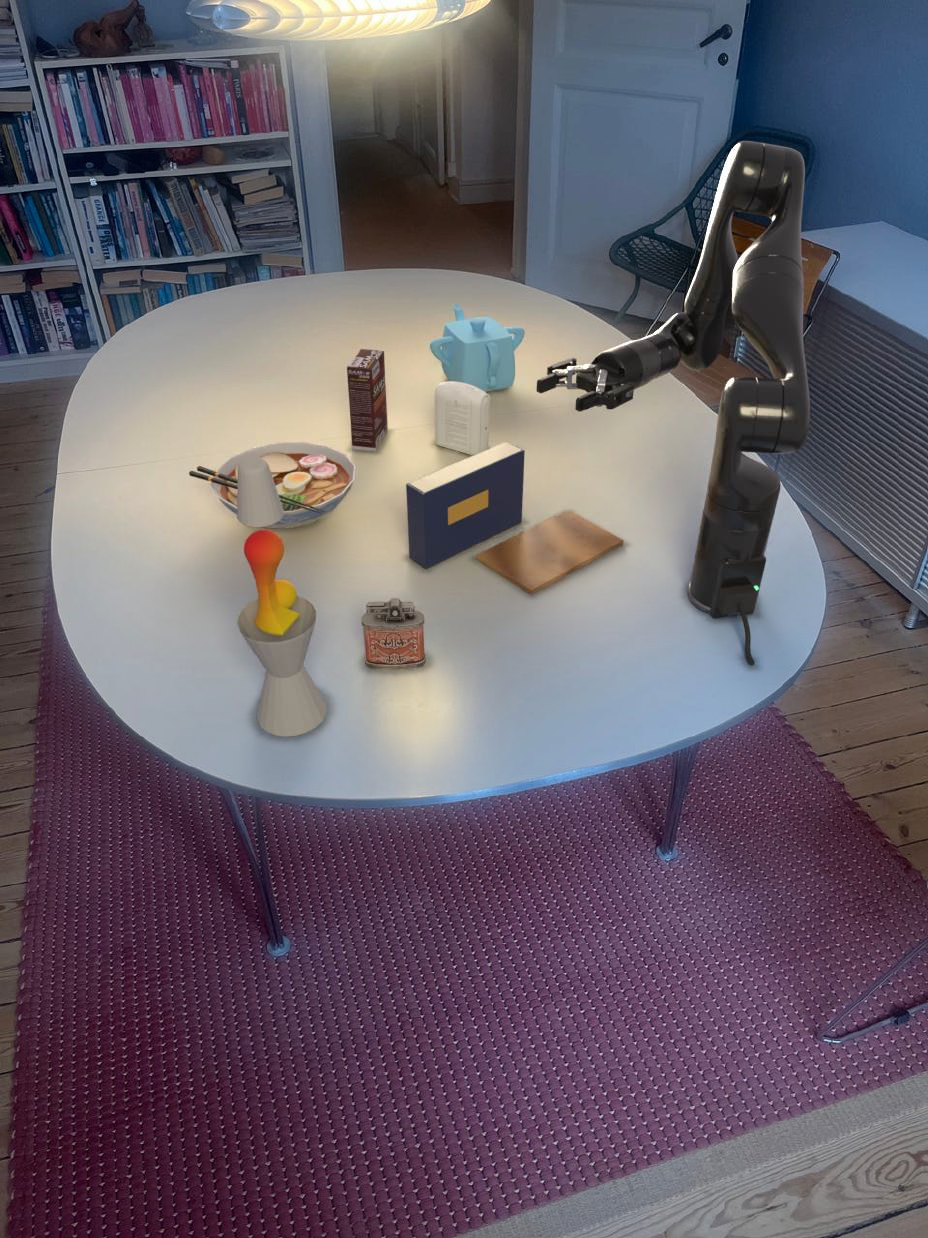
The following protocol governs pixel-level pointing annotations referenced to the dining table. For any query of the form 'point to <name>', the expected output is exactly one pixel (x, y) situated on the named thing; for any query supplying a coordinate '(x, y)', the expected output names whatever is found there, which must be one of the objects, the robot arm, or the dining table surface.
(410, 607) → the lighter
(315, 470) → the ramen bowl
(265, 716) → the lava lamp
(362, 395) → the supplement box
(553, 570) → the cork mat
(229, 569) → the dining table surface
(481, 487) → the book
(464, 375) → the teapot
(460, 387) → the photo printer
